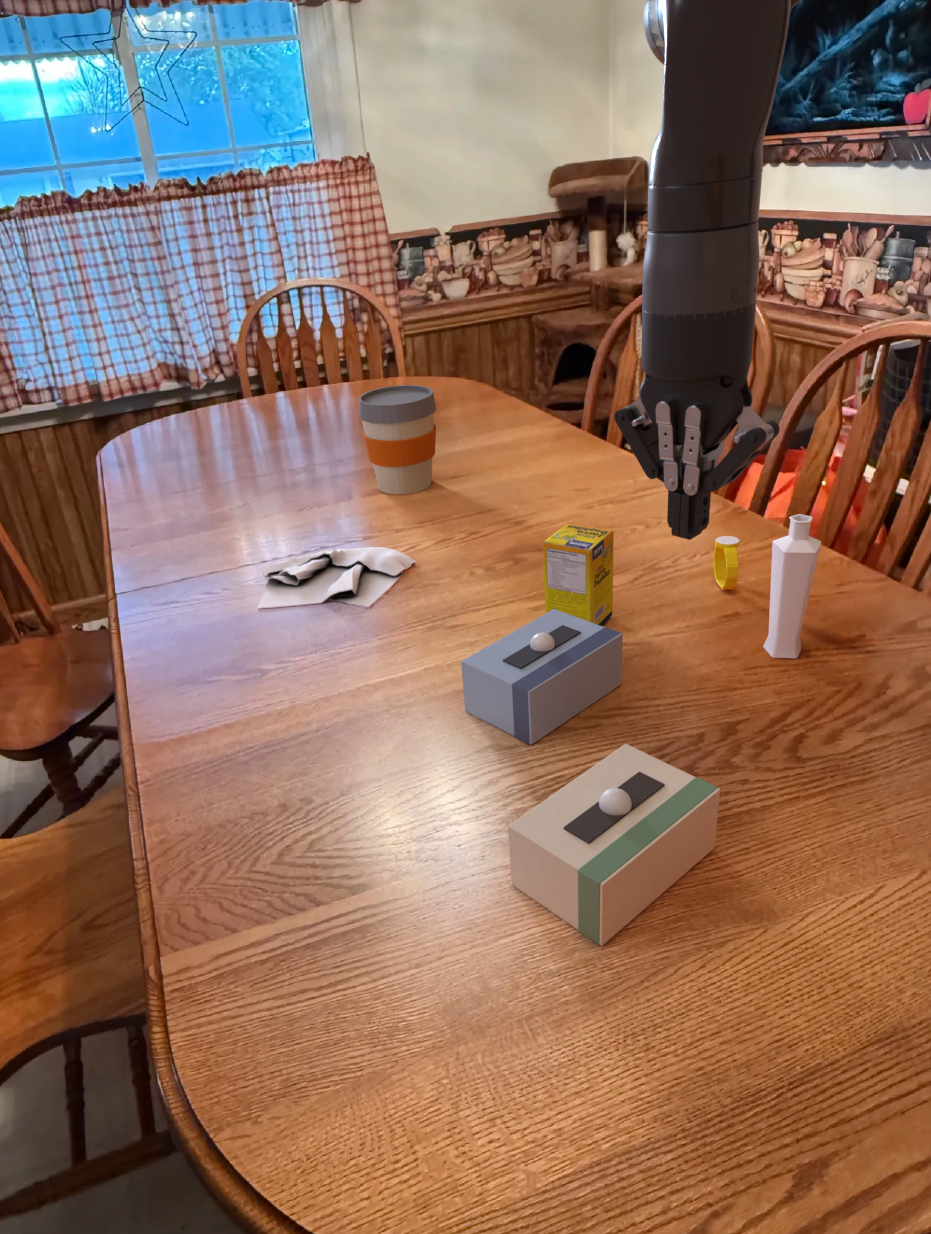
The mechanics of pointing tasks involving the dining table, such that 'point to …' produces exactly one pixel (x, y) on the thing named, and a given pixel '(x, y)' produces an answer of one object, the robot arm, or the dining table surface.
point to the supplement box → (579, 572)
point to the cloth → (334, 577)
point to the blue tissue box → (542, 674)
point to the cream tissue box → (613, 840)
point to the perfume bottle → (790, 587)
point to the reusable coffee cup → (400, 436)
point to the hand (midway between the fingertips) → (686, 534)
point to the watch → (726, 549)
